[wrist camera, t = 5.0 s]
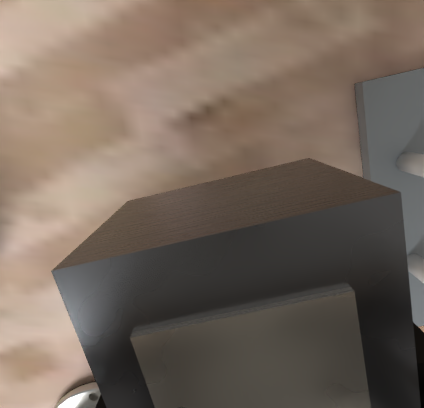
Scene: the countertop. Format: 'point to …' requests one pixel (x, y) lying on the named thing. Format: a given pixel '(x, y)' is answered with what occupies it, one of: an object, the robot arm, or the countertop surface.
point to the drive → (249, 295)
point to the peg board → (398, 158)
